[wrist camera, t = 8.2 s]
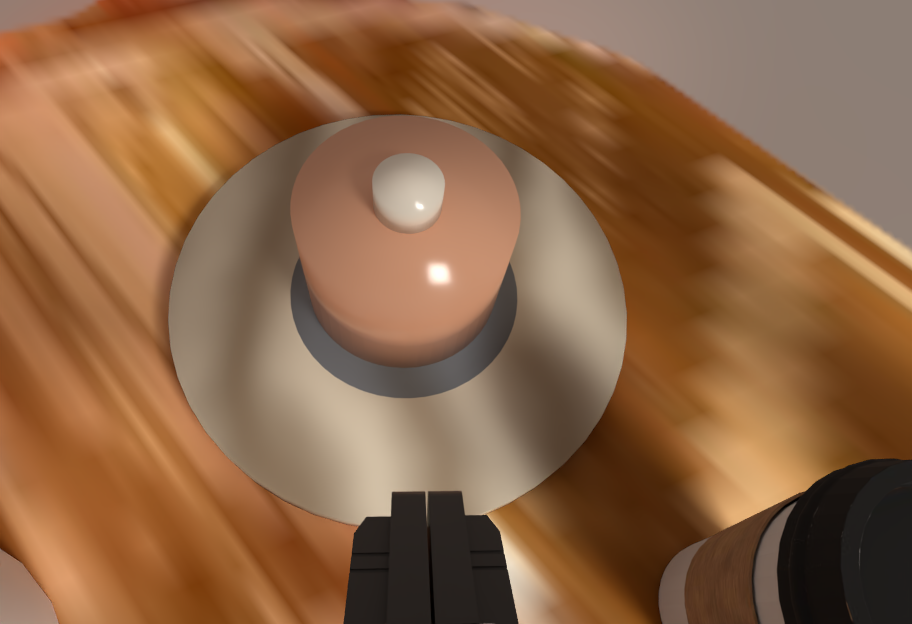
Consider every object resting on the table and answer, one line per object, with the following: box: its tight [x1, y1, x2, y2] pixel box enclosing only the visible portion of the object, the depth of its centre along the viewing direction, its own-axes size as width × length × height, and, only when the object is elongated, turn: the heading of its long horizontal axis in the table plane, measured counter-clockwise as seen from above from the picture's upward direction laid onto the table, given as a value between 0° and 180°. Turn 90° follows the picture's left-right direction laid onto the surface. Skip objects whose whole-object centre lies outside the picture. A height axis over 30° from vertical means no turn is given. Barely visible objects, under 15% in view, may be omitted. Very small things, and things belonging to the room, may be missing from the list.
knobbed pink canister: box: [290, 116, 521, 368], centre depth 30 cm, size 10×10×9 cm
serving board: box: [168, 115, 627, 526], centre depth 34 cm, size 24×24×2 cm
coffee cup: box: [659, 459, 912, 624], centre depth 23 cm, size 8×8×15 cm
